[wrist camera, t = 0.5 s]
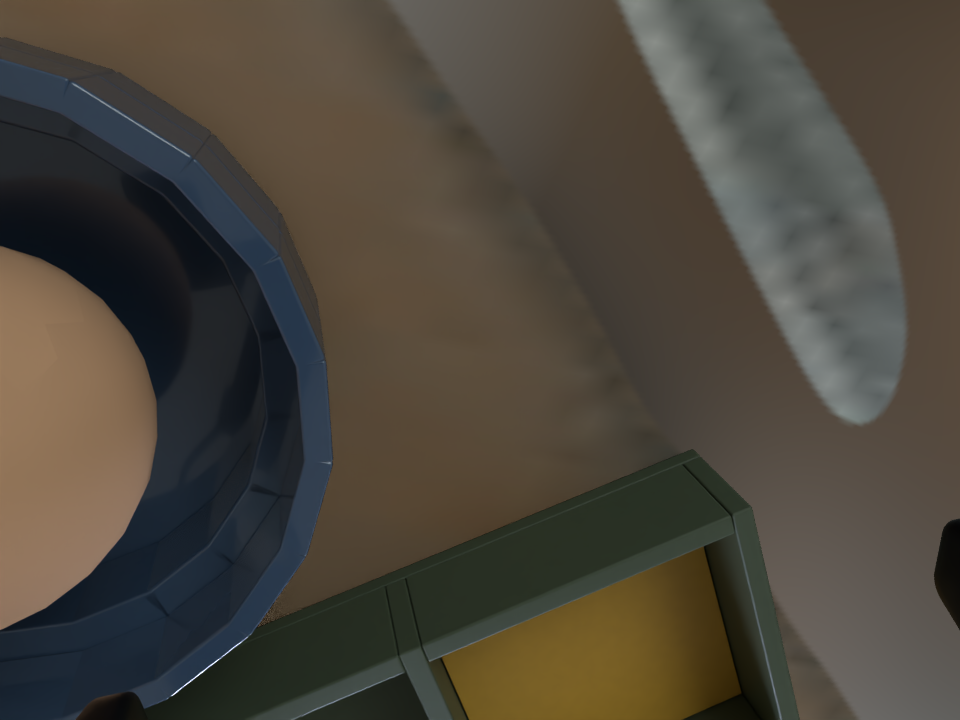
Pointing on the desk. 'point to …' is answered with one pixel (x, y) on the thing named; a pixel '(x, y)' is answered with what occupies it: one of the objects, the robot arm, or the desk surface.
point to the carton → (537, 623)
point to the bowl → (167, 379)
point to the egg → (64, 432)
